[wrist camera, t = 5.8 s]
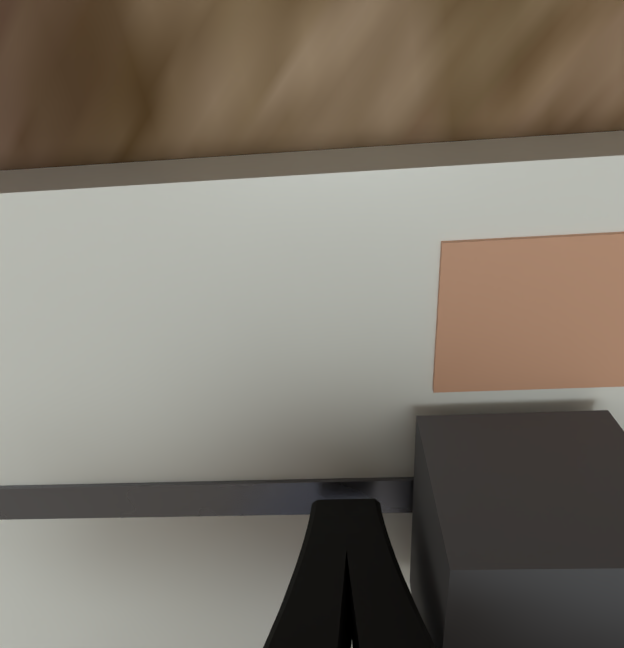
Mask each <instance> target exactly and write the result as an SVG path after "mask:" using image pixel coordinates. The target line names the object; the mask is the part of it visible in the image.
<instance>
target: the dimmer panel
mask: <svg viewBox="0 0 624 648" xmlns="http://www.w3.org/2000/svg"><path fill="white" fill-rule="evenodd" d="M594 410H608V411H609V412H610V413H611V415H612V416H613V417H614V419H615V420H616V421H617V423H618V424H619V425H620V427H621V428H622V429H623V431H624V130H623V131H608V132H592V133H576V134H561V135H545V136H530V137H514V138H499V139H483V140H468V141H452V142H437V143H421V144H406V145H390V146H375V147H359V148H344V149H328V150H313V151H297V152H282V153H266V154H251V155H235V156H220V157H204V158H189V159H173V160H158V161H142V162H127V163H111V164H96V165H80V166H65V167H49V168H34V169H18V170H3V171H0V648H263V646H264V644H265V642H266V639H267V637H268V635H269V633H270V630H271V628H272V626H273V623H274V621H275V619H276V616H277V614H278V612H279V609H280V607H281V604H282V602H283V599H284V596H285V593H286V591H287V588H288V585H289V583H290V580H291V577H292V574H293V572H294V569H295V566H296V563H297V560H298V557H299V554H300V551H301V547H302V544H303V541H304V537H305V534H306V530H307V526H308V521H309V517H310V511H311V505H312V503H313V502H315V501H316V500H323V499H371V498H375V499H376V500H377V501H379V502H380V505H381V510H382V515H383V519H384V522H385V526H386V529H387V533H388V536H389V539H390V542H391V545H392V548H393V550H394V553H395V556H396V558H397V561H398V564H399V566H400V569H401V571H402V574H403V576H404V579H405V581H406V583H407V586H408V588H409V590H410V593H411V588H410V560H411V534H412V509H413V484H414V459H415V434H416V416H424V415H458V414H492V413H526V412H560V411H594ZM351 648H353V647H352V645H351Z"/></svg>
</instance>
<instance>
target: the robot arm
mask: <svg viewBox="0 0 624 648" xmlns="http://www.w3.org/2000/svg"><path fill="white" fill-rule="evenodd" d="M351 645H352V647H353V648H436V646H435V644H434V642H433V640H432V638H431V636H430V634H429V632H428V630H427V628H426V626H425V624H424V622H423V619H422V617H421V615H420V613H419V611H418V609H417V606H416V604H415V602H414V599H413V597H412V595H411V593H410V590H409V588H408V586H407V583H406V581H405V579H404V576H403V574H402V571H401V569H400V566H399V564H398V561H397V558H396V556H395V553H394V550H393V548H392V545H391V542H390V539H389V536H388V533H387V529H386V526H385V522H384V519H383V515H382V510H381V505H380V502H379V501H377V500H376V499H375V498H371V499H323V500H316V501H315V502H313V503H312V505H311V511H310V517H309V521H308V526H307V530H306V534H305V537H304V541H303V544H302V547H301V551H300V554H299V557H298V560H297V563H296V566H295V569H294V572H293V574H292V577H291V580H290V583H289V585H288V588H287V591H286V593H285V596H284V599H283V602H282V604H281V607H280V609H279V612H278V614H277V616H276V619H275V621H274V623H273V626H272V628H271V630H270V633H269V635H268V637H267V639H266V642H265V644H264V646H263V648H351Z"/></svg>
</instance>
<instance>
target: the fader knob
mask: <svg viewBox="0 0 624 648" xmlns="http://www.w3.org/2000/svg"><path fill="white" fill-rule="evenodd" d="M410 588H411V595H412V597H413V599H414V602H415V604H416V606H417V609H418V611H419V613H420V615H421V617H422V619H423V622H424V624H425V626H426V628H427V630H428V632H429V634H430V636H431V638H432V640H433V642H434V644H435V646H436V648H624V431H623V429H622V428H621V427H620V425H619V424H618V423H617V421H616V420H615V419H614V417H613V416H612V415H611V413H610V412H609V411H608V410H594V411H560V412H526V413H492V414H458V415H424V416H416V434H415V459H414V484H413V509H412V534H411V560H410Z"/></svg>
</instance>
